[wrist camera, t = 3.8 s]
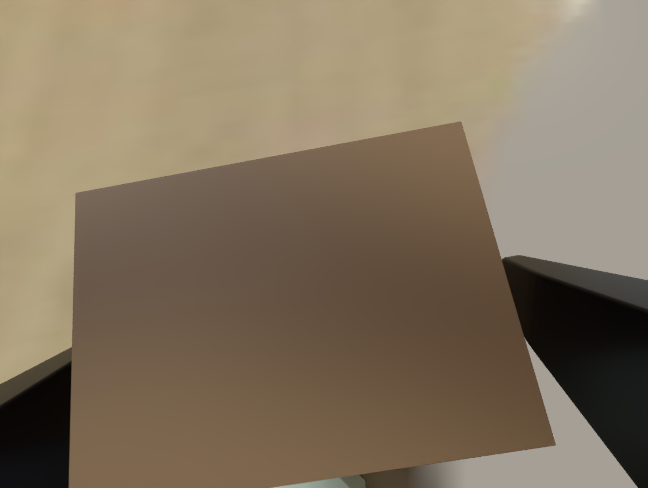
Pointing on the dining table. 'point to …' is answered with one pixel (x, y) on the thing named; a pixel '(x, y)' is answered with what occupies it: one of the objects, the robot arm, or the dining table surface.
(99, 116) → the dining table surface
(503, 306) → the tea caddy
